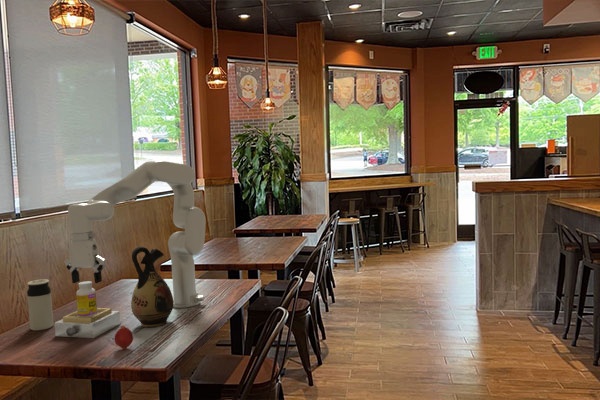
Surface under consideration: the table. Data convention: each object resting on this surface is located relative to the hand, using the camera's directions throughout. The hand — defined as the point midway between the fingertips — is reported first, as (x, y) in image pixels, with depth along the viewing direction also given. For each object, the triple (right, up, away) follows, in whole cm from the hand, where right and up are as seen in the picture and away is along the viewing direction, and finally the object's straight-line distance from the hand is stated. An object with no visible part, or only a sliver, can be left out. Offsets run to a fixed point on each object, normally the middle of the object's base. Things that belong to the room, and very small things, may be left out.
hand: (87, 282), depth 186 cm
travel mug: (-20, -19, +6) cm, 28 cm away
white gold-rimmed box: (0, -18, +1) cm, 18 cm away
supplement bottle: (0, -13, +1) cm, 13 cm away
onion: (+21, -19, -21) cm, 35 cm away
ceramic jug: (+23, -17, +4) cm, 29 cm away
